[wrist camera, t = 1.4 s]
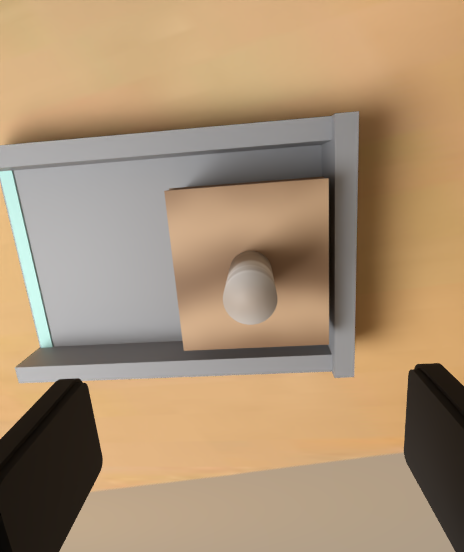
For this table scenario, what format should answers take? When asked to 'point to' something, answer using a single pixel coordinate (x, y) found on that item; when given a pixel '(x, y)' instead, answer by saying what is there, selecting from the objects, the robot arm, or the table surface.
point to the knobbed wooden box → (251, 263)
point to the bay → (161, 244)
